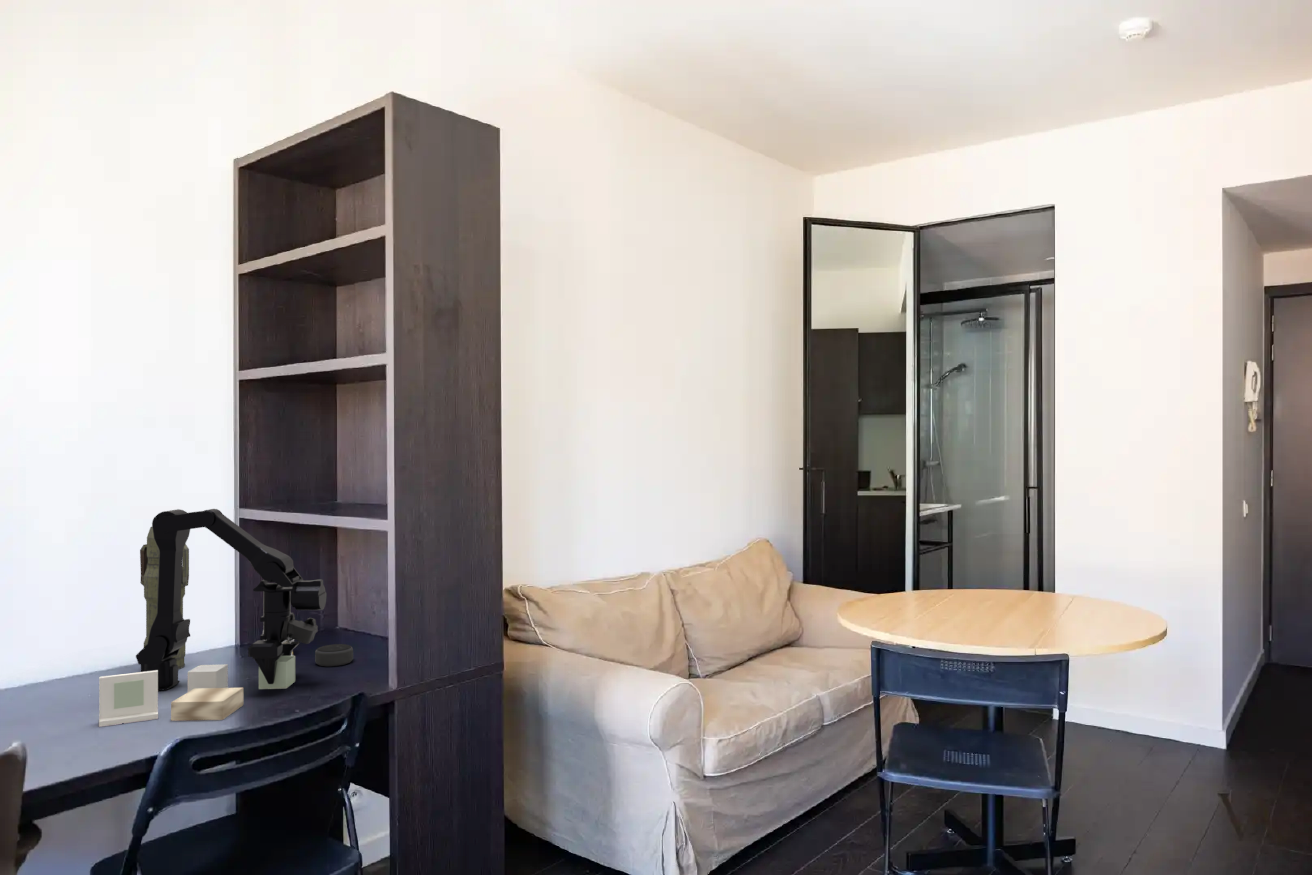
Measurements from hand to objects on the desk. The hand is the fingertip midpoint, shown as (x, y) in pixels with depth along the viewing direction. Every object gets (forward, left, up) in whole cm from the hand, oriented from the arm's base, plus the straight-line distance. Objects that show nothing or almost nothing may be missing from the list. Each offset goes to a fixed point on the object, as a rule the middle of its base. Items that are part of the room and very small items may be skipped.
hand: (277, 679), depth 203 cm
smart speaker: (+7, +20, -2) cm, 21 cm away
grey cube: (-12, -7, -1) cm, 14 cm away
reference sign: (-21, -24, -1) cm, 31 cm away
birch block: (-7, -20, -2) cm, 21 cm away
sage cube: (0, 0, -1) cm, 1 cm away
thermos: (-33, +18, -2) cm, 38 cm away
